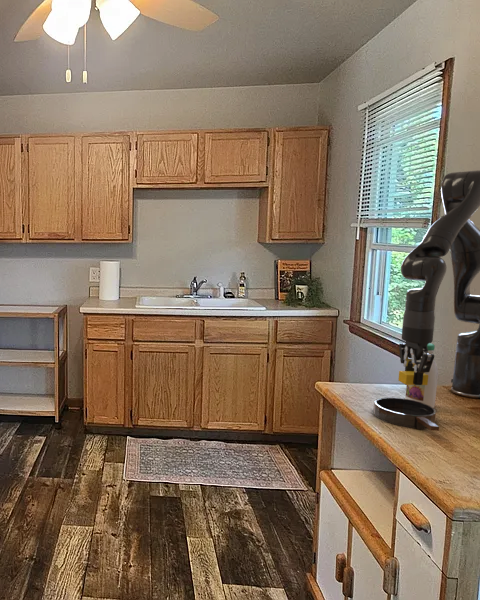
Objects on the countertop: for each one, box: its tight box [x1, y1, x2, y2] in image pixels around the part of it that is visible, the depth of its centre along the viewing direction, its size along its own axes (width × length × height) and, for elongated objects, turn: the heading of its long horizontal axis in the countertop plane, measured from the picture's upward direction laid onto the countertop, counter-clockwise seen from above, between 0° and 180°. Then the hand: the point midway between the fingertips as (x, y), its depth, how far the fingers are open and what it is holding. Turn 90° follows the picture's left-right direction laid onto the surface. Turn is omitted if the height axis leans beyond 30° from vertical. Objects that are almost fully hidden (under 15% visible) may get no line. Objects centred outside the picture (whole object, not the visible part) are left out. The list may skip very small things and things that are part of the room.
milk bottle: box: [404, 342, 439, 409], centre depth 154 cm, size 8×8×20 cm
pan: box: [372, 396, 437, 429], centre depth 146 cm, size 15×15×4 cm
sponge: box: [397, 370, 428, 386], centre depth 146 cm, size 6×4×3 cm, turn 85°
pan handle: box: [414, 416, 440, 432], centre depth 135 cm, size 7×2×3 cm, turn 175°
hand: (413, 381), depth 146 cm, fingers closed on sponge, 4 cm apart
